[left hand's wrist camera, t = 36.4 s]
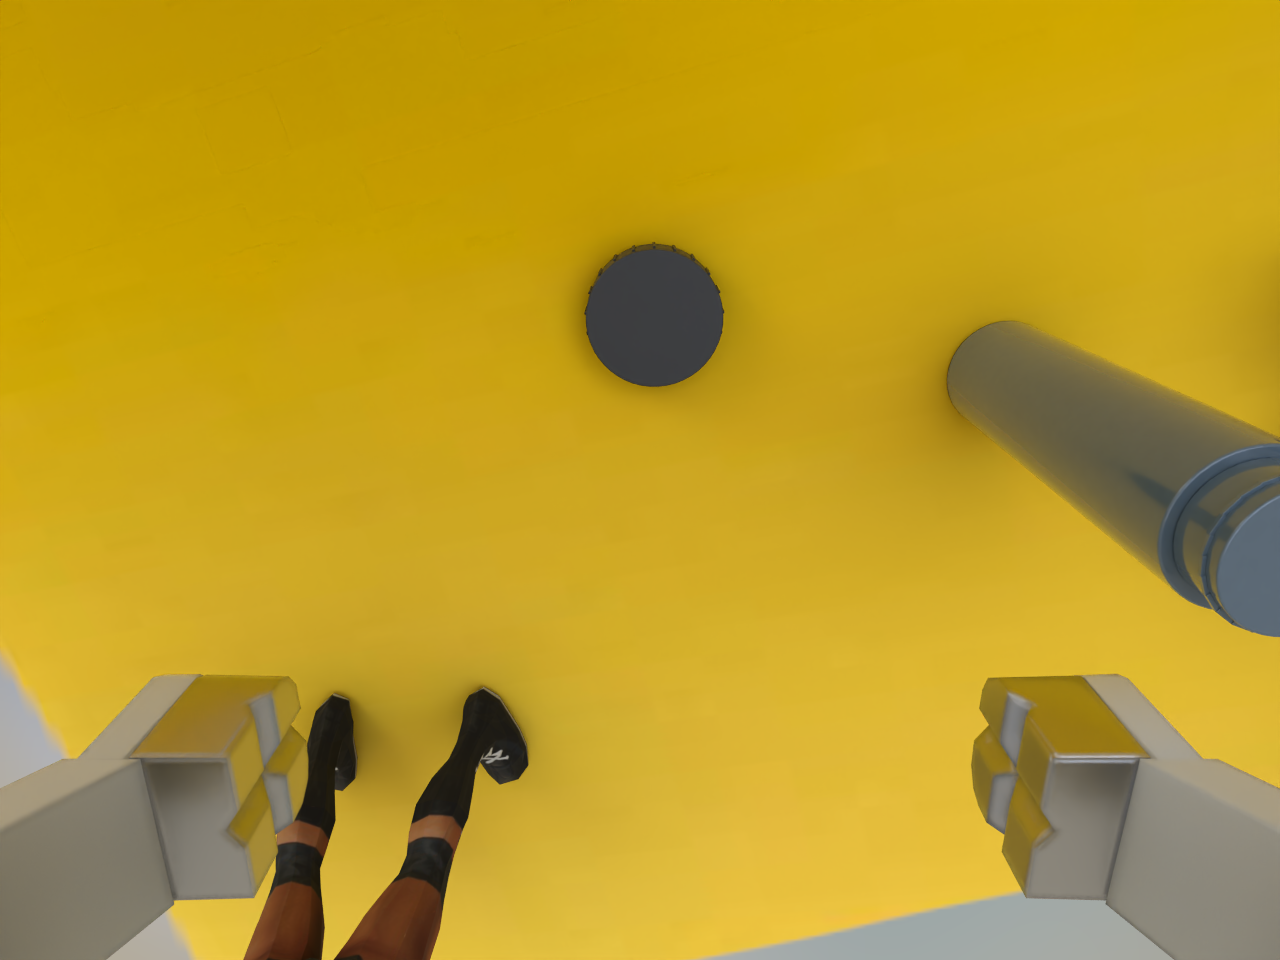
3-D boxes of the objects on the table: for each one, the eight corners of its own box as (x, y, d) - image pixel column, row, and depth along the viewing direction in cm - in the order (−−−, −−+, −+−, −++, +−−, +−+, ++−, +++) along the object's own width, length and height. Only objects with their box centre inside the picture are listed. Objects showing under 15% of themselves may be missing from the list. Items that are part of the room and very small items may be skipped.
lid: (635, 214, 38) (635, 218, 36) (747, 292, 39) (753, 300, 37) (562, 328, 40) (557, 338, 38) (671, 400, 41) (672, 413, 39)
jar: (1055, 418, 41) (1392, 637, 23) (947, 433, 41) (1195, 661, 23) (1056, 313, 39) (1423, 456, 21) (945, 329, 40) (1209, 485, 21)
